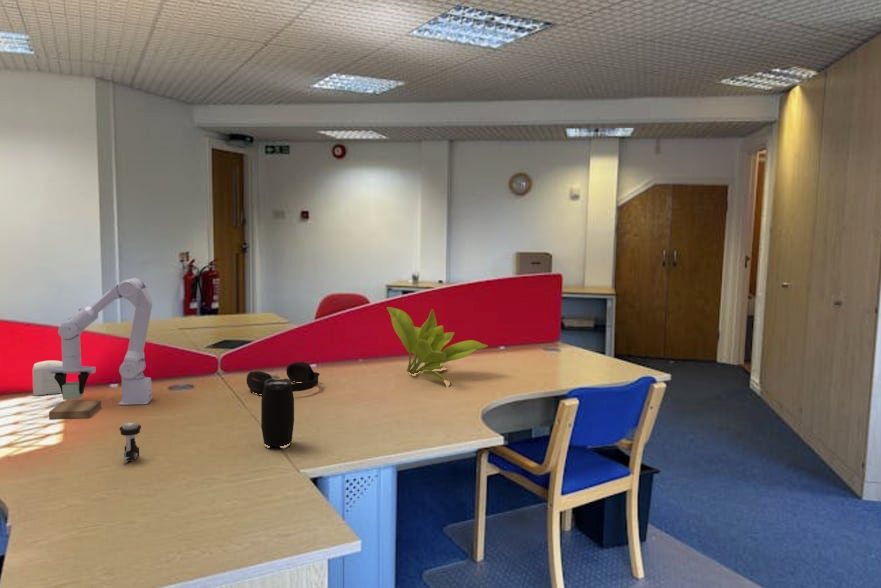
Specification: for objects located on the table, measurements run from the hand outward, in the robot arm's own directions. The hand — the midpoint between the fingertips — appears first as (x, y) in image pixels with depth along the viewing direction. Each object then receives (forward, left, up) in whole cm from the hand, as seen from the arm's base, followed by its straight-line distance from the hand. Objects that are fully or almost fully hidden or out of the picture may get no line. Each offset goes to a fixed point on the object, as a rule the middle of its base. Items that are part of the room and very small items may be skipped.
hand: (73, 393), depth 228 cm
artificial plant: (-133, -26, -4) cm, 135 cm away
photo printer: (+12, -13, -4) cm, 18 cm away
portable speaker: (-72, +52, -4) cm, 89 cm away
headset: (-71, -14, -4) cm, 73 cm away
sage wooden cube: (0, 0, -2) cm, 2 cm away
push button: (-33, +59, -4) cm, 68 cm away
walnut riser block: (-5, +13, -4) cm, 14 cm away
